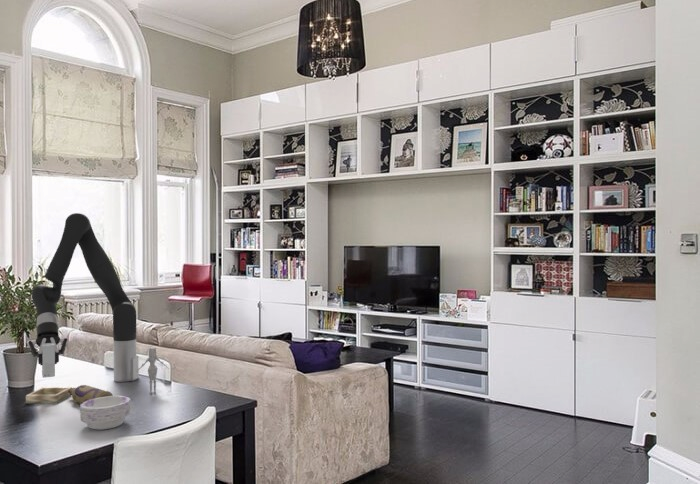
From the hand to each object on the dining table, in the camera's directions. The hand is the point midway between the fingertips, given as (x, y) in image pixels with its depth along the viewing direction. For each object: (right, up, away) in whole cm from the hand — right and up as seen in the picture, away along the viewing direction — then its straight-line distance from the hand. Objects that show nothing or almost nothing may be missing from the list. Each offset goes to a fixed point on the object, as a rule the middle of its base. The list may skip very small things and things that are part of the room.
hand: (48, 363), depth 221 cm
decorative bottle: (+18, -14, -5) cm, 23 cm away
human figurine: (+36, -14, +8) cm, 40 cm away
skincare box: (-1, -5, +2) cm, 6 cm away
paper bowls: (+34, -14, -30) cm, 47 cm away
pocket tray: (-1, -14, +2) cm, 14 cm away
